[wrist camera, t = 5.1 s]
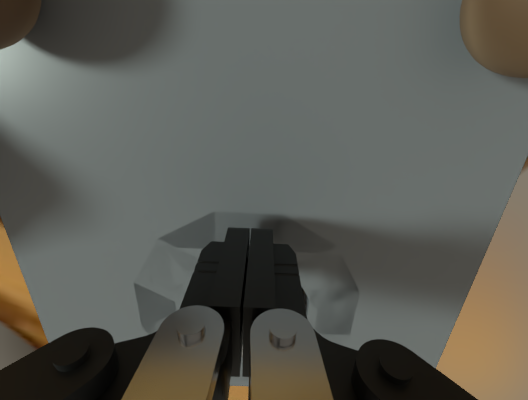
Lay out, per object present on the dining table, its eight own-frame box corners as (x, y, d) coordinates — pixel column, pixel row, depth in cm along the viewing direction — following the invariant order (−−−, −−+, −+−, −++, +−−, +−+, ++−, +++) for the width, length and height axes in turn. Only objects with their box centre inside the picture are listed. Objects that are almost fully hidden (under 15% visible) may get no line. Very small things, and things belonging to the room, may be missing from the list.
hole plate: (-27, -74, 9) (-130, -126, 7) (539, -45, 9) (632, -86, 7) (91, 336, 16) (62, 379, 14) (402, 347, 16) (425, 392, 14)
